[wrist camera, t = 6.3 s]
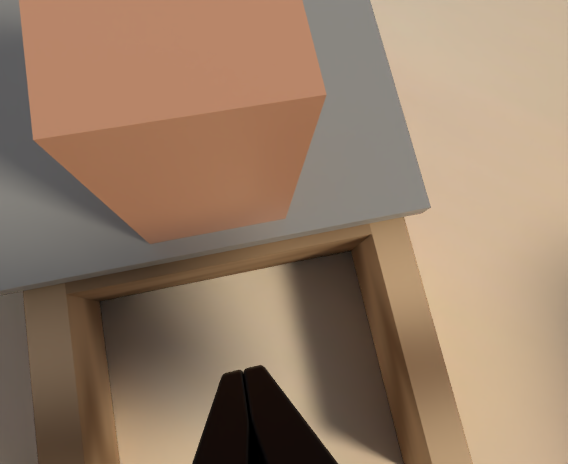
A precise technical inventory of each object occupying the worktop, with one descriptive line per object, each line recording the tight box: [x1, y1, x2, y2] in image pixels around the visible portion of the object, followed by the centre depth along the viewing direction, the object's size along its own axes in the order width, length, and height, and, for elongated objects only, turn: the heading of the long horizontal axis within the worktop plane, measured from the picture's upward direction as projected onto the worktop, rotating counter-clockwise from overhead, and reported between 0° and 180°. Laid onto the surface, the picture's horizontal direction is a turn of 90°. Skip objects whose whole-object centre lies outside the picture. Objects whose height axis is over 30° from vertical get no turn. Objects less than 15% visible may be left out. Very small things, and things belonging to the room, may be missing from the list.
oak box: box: [23, 217, 473, 464], centre depth 15 cm, size 20×12×3 cm, turn 12°
